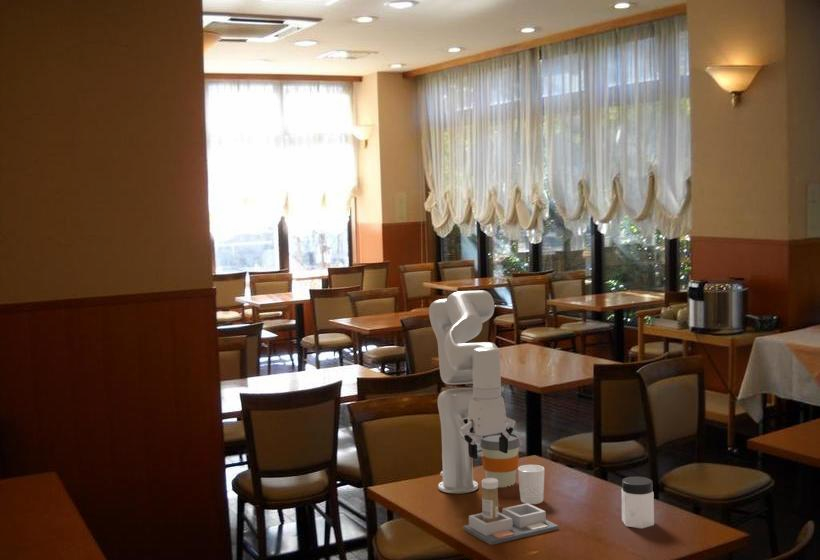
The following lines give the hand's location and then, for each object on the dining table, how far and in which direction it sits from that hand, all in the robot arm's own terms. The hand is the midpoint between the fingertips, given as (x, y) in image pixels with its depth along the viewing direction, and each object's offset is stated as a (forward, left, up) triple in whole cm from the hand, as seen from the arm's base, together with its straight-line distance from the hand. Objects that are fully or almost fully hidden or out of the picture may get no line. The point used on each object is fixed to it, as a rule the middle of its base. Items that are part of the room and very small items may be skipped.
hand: (488, 454), depth 255 cm
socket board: (+2, +5, -21) cm, 22 cm away
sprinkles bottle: (0, 0, -20) cm, 20 cm away
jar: (+17, +37, -22) cm, 46 cm away
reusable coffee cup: (-35, +26, -22) cm, 49 cm away
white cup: (-15, +24, -22) cm, 36 cm away
